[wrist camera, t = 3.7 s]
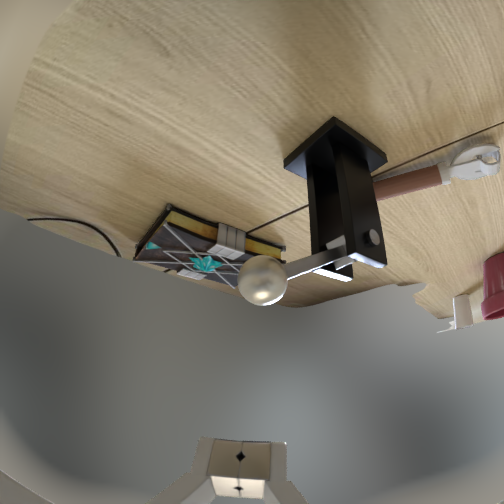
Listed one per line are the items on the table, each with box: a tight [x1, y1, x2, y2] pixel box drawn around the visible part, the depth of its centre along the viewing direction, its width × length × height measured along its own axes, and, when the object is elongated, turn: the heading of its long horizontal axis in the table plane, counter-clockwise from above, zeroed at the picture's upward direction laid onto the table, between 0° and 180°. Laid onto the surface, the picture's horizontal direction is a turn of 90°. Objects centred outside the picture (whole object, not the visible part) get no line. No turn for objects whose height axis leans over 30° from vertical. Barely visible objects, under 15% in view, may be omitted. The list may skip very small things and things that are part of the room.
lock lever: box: [238, 235, 358, 305], centre depth 22 cm, size 13×3×3 cm, turn 57°
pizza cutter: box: [372, 144, 501, 201], centre depth 29 cm, size 20×6×3 cm, turn 132°
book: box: [133, 204, 286, 289], centre depth 50 cm, size 22×17×5 cm
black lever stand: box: [284, 117, 388, 281], centre depth 27 cm, size 8×8×13 cm
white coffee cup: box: [453, 294, 474, 329], centre depth 75 cm, size 7×7×10 cm
